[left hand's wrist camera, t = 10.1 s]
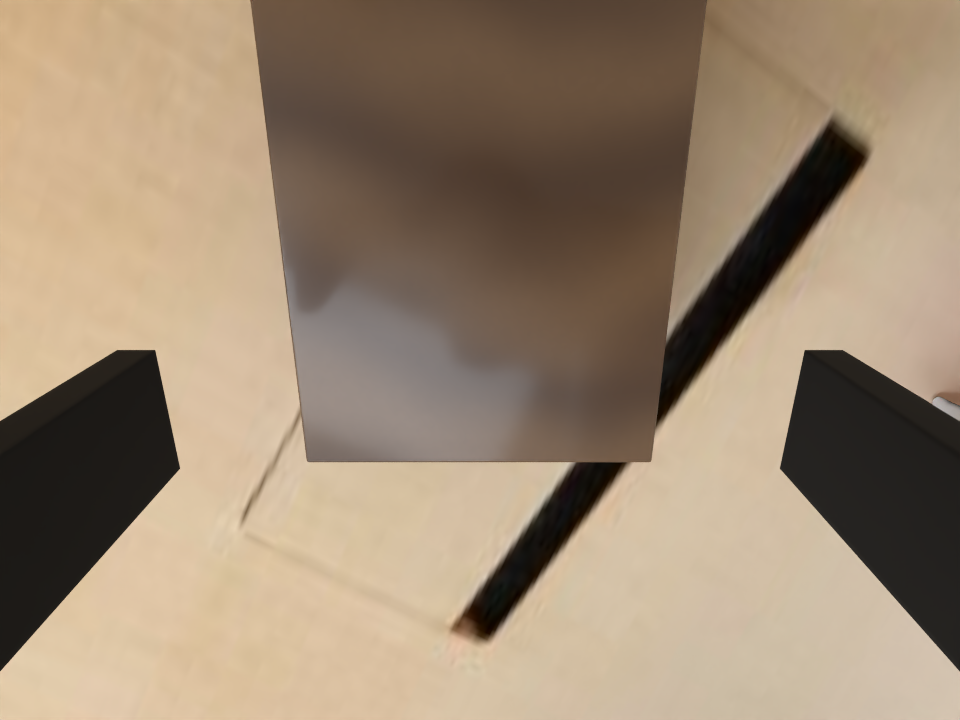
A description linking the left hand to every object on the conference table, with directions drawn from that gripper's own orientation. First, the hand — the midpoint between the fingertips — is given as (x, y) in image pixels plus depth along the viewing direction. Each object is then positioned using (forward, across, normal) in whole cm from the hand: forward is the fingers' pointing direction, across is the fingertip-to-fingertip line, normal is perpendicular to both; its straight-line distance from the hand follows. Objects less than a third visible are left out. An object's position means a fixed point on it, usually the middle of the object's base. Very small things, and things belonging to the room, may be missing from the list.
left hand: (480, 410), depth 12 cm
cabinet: (+15, 0, -5) cm, 16 cm away
